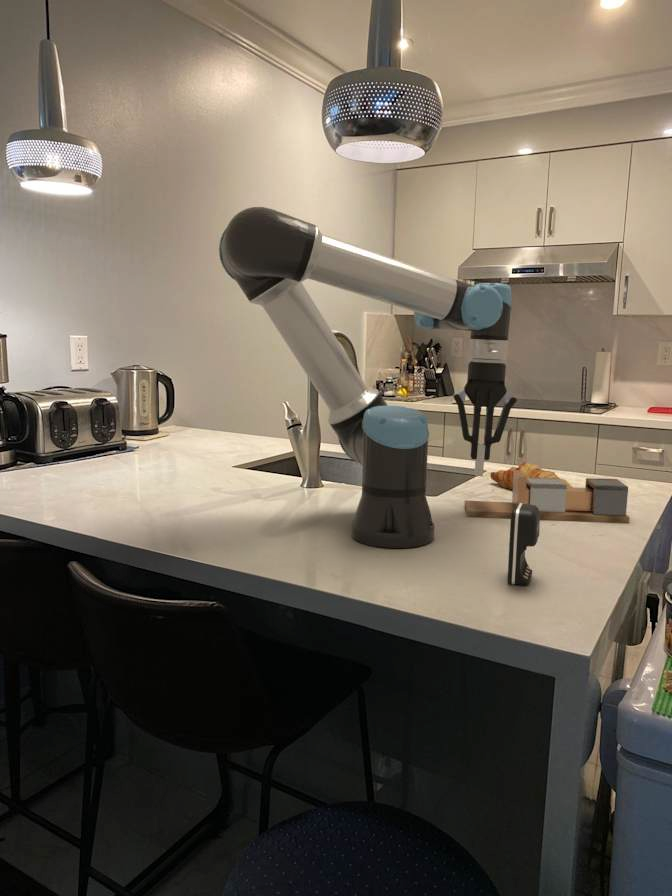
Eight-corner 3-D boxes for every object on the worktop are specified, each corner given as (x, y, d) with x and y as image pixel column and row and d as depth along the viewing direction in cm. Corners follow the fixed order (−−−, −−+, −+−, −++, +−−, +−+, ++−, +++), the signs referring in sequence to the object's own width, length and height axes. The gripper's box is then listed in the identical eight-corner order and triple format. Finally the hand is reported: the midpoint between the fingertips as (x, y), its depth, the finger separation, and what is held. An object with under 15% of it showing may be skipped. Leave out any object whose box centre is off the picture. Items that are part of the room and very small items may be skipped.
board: (467, 516, 138) (468, 510, 138) (464, 505, 147) (464, 500, 147) (629, 523, 135) (629, 517, 135) (615, 511, 144) (616, 506, 143)
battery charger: (533, 588, 99) (537, 513, 97) (506, 585, 100) (510, 510, 98) (537, 573, 105) (542, 502, 103) (512, 570, 107) (516, 500, 105)
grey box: (593, 514, 136) (595, 485, 135) (584, 505, 144) (586, 478, 143) (625, 516, 135) (628, 487, 134) (614, 506, 143) (617, 479, 142)
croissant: (576, 509, 160) (584, 477, 161) (564, 496, 152) (573, 463, 154) (493, 493, 173) (501, 464, 174) (478, 481, 165) (487, 451, 167)
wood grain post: (517, 510, 138) (518, 476, 137) (512, 502, 145) (513, 470, 144) (615, 514, 136) (618, 480, 135) (606, 505, 143) (608, 473, 142)
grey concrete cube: (529, 511, 138) (531, 484, 137) (524, 504, 144) (525, 477, 143) (564, 513, 137) (566, 485, 136) (557, 505, 144) (559, 478, 143)
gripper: (456, 360, 134) (448, 476, 138) (523, 363, 133) (512, 480, 137) (453, 359, 142) (446, 469, 145) (517, 362, 140) (507, 473, 144)
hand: (478, 474), depth 141 cm, fingers closed
